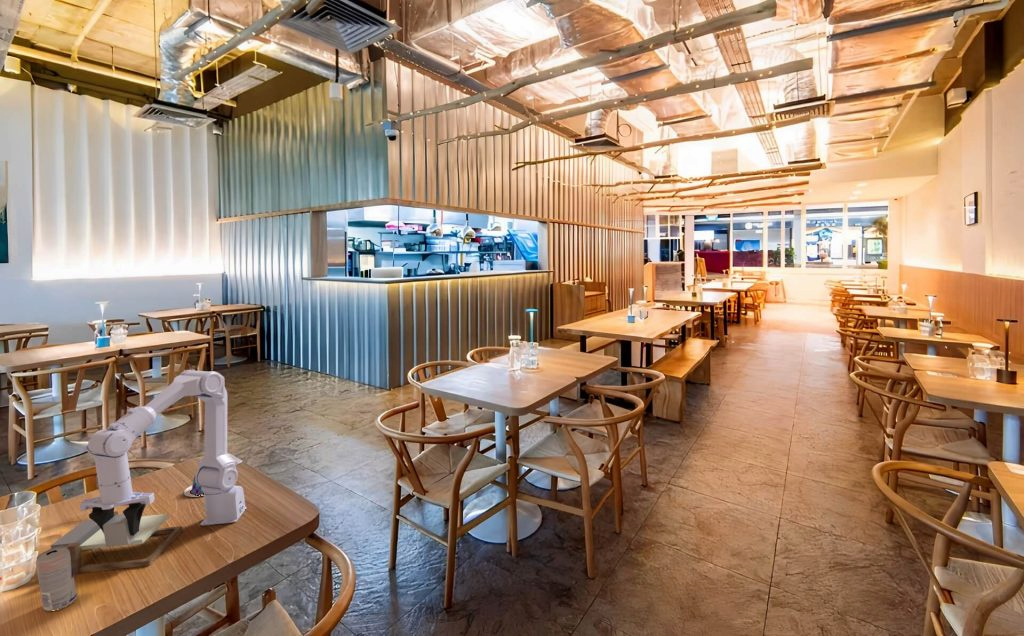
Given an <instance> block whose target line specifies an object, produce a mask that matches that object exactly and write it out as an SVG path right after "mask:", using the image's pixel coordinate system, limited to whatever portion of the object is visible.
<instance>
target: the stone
mask: <svg viewBox="0 0 1024 636" xmlns="http://www.w3.org/2000/svg"><path fill="white" fill-rule="evenodd" d="M103 530H104V536H105V543H106V547H105V548H111V547H112V546H113V547H120V546H121V545H123V546H129V545H128V544H130V543H131V542H132V541H133V540H134V539H135V538H136V537H137V536H138V535H139V534H140V528H139V531H138V532H137V533H136V534H135V535H133V536H131V535H130V532H129V526H128V522H127V519H126V517H125V515H124V514H123V513H121V514H120V513H118V515H115V516H114V517H113V518H111V519H110V520H109V521H108V522H106V523H105V524H104V525H103ZM121 547H122V546H121Z"/></svg>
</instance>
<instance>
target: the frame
mask: <svg viewBox="0 0 1024 636" xmlns="http://www.w3.org/2000/svg"><path fill="white" fill-rule="evenodd" d="M118 514H119V511H114V516H115V515H118ZM182 532H183V526H182V525H180V526H171V527H169V526H168V527H162V528H161V527H159V528H158V529H157V530H156V531H155V532H154V533H153V534H152V535H151V536H155V535H164V534H169V535H168V536H167V538H166V539H165V540H164V541H163V542H161V544H159V546H158V547H157V548H156V549H155V550H154V551H153V552H152V553H151V554H150V555H149V556H148V557H147V558H141V559H132V560H123V561H121V560H120V561H112V562H104V563H95V564H87V565H84V563H83V557H82V550H80V543H79V542H78V543H70V544H68V545H67V546H66V547H67V548H68V550H69V551H70V557H71V563H72V569H73V575H79V574H81V573H82V574H84V573H91V572H92V573H93V572H103V571H108V570H110V571H111V570H118V569H128V568H135V567H144V566H151V564H153V563H154V562H155V561H156V559H158V558H159V556H160V555H161V554H162V553H163V552H164V551H165V550H166V548H167V547H168V546H170V544H172V542H173V541H174V540H175V539H176V538H177V537H178V536H179V534H181V533H182Z"/></svg>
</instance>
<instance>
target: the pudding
mask: <svg viewBox="0 0 1024 636" xmlns="http://www.w3.org/2000/svg"><path fill="white" fill-rule="evenodd" d="M195 476H196V474H195V475H194V477H193V479H192V484H191V485H190V486H188V487H187V488H186V489H184V491H183V495H185V496H186V497H193V498H195V497H197V496H195V494H197V495H198V494H200V495H201V496H203V497H204V495H203V494H201V493H203V491H202V490H201V486H198V485H197V484H196V482H195ZM191 490H192V491H191ZM190 491H191V493H192V494H193V495H190V493H189V492H190ZM200 495H199V496H198V497H201V496H200Z"/></svg>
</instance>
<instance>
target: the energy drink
mask: <svg viewBox="0 0 1024 636" xmlns="http://www.w3.org/2000/svg"><path fill="white" fill-rule="evenodd" d="M35 566H36V567H35V568H36V571H37V572H36V573H37V578H38V583H39V590H40V595H41V602H42V607H43V610H44V611H45V610H46V611H45V612H47V611H52V610H57V609H60V610H62V609H61V608H63V609H65V608H66V607H65V606H67V605H69V604H70V605H72V604H73V603H72V602H73V601H74V600H76V599H77V597H78V596H77V587H76V582H75V578H74V577H75V574H73V569H72V563H71V557H70V551H69V550H68V548H67V547H65V546H61V547H56V548H52V549H51V548H49V549H46V550H45V551H42V552H41V553H40V554H38V555H37V556H36V560H35ZM74 602H75V601H74ZM70 605H69V606H70ZM64 607H65V608H64ZM67 607H68V606H67ZM57 611H58V610H57Z"/></svg>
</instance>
